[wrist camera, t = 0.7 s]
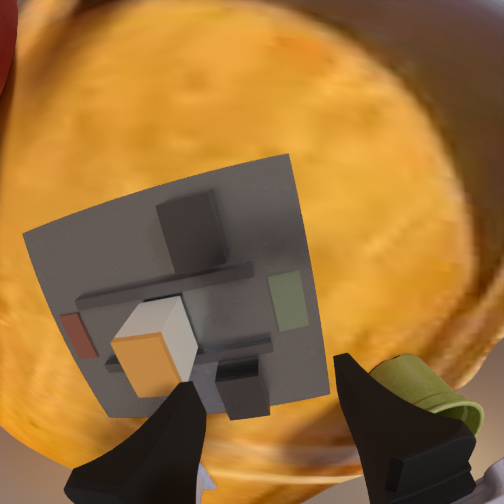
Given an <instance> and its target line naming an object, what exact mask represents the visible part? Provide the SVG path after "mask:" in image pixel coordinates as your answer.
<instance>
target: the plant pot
mask: <svg viewBox="0 0 504 504" xmlns="http://www.w3.org/2000/svg"><path fill="white" fill-rule="evenodd" d="M370 375H371V376H372V377H373V378H374V379H375V380H377V381H378V382H379V383H380V384H382V385H383V386H384V387H386V388H387V389H388V390H390V391H391V392H393V393H394V394H396V395H397V396H399V397H401V398H402V399H404V400H406V401H408V402H409V403H411V404H413V405H416V406H418V407H420V408H422V409H425V410H427V411H430V412H433V413H436V414H439V415H442V416H446V417H450V418H454V419H459V420H462V421H463V422H464V423H465V424H466V425H467V426H468V428H469V429H470V430H471V432H472V433H473V435H474V436H475V437H476V436H477V434H478V433H479V431H480V429H481V427H482V424H483V420H484V412H483V409H482V407H481V406H480V405H479V404H478V403H477V402H475V401H472V400H467V399H466V398H464V397H463V396H461V395H459V394H456V393H455V392H454V391H453V390H452V389H451V388H450V387H449V386H448V385H447V384H446V383H445V382H444V381H443V380H442V379H441V378H440V377H439V376H438V375H437V374H436V373H435V372H434V371H433V370H432V369H430V368H429V367H428V366H427V365H426V364H425V363H424V362H423V361H422V360H421V359H420V358H419V357H417V356H415V355H410V354H403V355H400V356H399V357H397V358H394V359H391V360H386V361H384V362H382V363H381V364H379V365H378V366H377V367H376V368H375V369H374V370H373V371H372V372H371V373H370Z"/></svg>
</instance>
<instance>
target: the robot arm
mask: <svg viewBox="0 0 504 504" xmlns="http://www.w3.org/2000/svg"><path fill="white" fill-rule="evenodd" d="M333 359H334V367H335V376H336V386H337V392H338V396H339V400H340V404H341V408H342V411H343V413H344V416H345V419H346V421H347V424H348V426H349V429H350V431H351V434H352V436H353V439H354V442H355V444H356V447H357V450H358V453H359V456H360V460H361V464H362V468H363V472H364V477H365V481H366V486H367V489H368V495H369V500H370V504H504V457H503V458H502V459H500V460H498V461H497V462H495V463H494V464H492V465H491V466H490V467H489V468H488V469H487V470H486V472H485V473H484V476H483V477H482V478H480V479H478V480H476V481H474V480H473V477H472V475H471V473H470V471H471V466H470V464H469V462H468V460H469V458H470V456H471V454H472V452H473V450H474V447H475V444H476V438H475V436H474V435H473V433H472V432H471V430H470V429H469V428H468V426H467V425H466V424H465V423H464V422H463V421H462V420H459V419H454V418H450V417H446V416H442V415H439V414H436V413H433V412H430V411H427V410H425V409H422V408H420V407H418V406H416V405H413V404H411V403H409V402H408V401H406V400H404V399H402V398H401V397H399V396H397V395H396V394H394V393H393V392H391V391H390V390H388V389H387V388H386V387H384V386H383V385H382V384H380V383H379V382H378V381H377V380H375V379H374V378H373V377H372V376H371V375H370V374H368V373H367V372H366V371H365V370H364V369H363V368H362V367H361V366H360V365H359V364H358V363H357V362H356V361H355V360H354V359H353V358H352V356H351V355H350V354H348V353H344V354H340V355H336V356H333ZM206 413H207V412H206V410H205V408H204V405H203V403H202V401H201V399H200V397H199V395H198V392H197V390H196V388H195V386H194V384H193V381H187V382H180V383H179V384H178V385H177V386H176V387H175V388H174V390H173V391H172V392H171V393H170V395H169V396H168V397H167V398H166V400H165V401H164V402H163V403H162V404H161V406H160V407H159V408H158V409H157V410H156V411H155V413H154V414H153V415H152V416H151V417H150V418H149V419H148V420H147V421H146V422H145V423H144V424H143V425H142V426H141V427H140V428H139V429H138V430H137V431H136V432H135V433H133V434H132V435H131V436H130V437H129V438H128V439H126V440H125V441H124V442H122V443H121V444H119V445H118V446H117V447H115V448H114V449H112V450H111V451H109V452H108V453H106V454H104V455H102V456H101V457H99V458H97V459H95V460H93V461H91V462H89V463H86V464H84V465H82V466H79V467H77V468H74V469H73V471H72V473H71V475H70V477H69V479H68V481H67V483H66V485H65V487H64V492H65V494H66V495H67V497H68V498H69V499H70V500H71V501H72V502H73V503H74V504H201V501H202V494H203V490H214V489H216V485H215V483H214V482H213V480H212V479H211V477H210V476H209V474H208V473H207V471H206V470H205V468H204V467H203V465H202V464H201V462H200V458H201V453H202V448H203V443H204V437H205V432H206Z"/></svg>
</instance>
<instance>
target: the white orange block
mask: <svg viewBox="0 0 504 504" xmlns="http://www.w3.org/2000/svg"><path fill="white" fill-rule="evenodd" d="M110 344H111V346H112V348H113V350H114V352H115V354H116V356H117V358H118V360H119V362H120V364H121V366H122V368H123V370H124V372H125V374H126V375H127V377H128V379H129V381H130V383H131V385H132V387H133V388H134V390H135V392H136V394H137V396H138V397H139V398H143V397H161V396H169V395H170V393H171V392H172V391H173V390H174V388H175V387H176V386H177V385H178V384H179V383H180V382H187V381H188V380H189V377H190V373H191V370H192V366H193V363H194V359H195V356H196V352H197V349H198V345H197V343H196V340H195V337H194V334H193V332H192V329H191V326H190V323H189V321H188V318H187V315H186V312H185V309H184V307H183V304H182V301H181V298H180V296H176V297H171V298H166V299H160V300H155V301H149V302H144V303H139V304H138V306H137V307H136V308H135V310H134V311H133V312H132V314H131V315H130V317H129V318H128V319H127V321H126V322H125V323H124V325H123V326H122V327H121V329H120V330H119V332H118V333H117V334H116V336H115V337H114V338H113V340H112V341H111V343H110Z"/></svg>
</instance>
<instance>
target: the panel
mask: <svg viewBox="0 0 504 504" xmlns="http://www.w3.org/2000/svg"><path fill="white" fill-rule="evenodd" d="M23 237H24V240H25V244H26V247H27V250H28V253H29V256H30V259H31V262H32V265H33V267H34V270H35V273H36V276H37V278H38V281H39V283H40V286H41V288H42V291H43V293H44V296H45V298H46V301H47V303H48V305H49V308H50V310H51V312H52V315H53V317H54V319H55V321H56V323H57V326H58V328H59V330H60V332H61V334H62V336H63V338H64V340H65V342H66V344H67V346H68V348H69V350H70V352H71V354H72V356H73V358H74V360H75V361H76V363H77V365H78V367H79V369H80V370H81V372H82V374H83V376H84V378H85V379H86V381H87V383H88V384H89V386H90V388H91V389H92V391H93V393H94V394H95V396H96V398H97V399H98V401H99V402H100V404H101V406H102V407H103V409H104V410H105V412H106V413H107V415H108V416H109V417H122V418H139V417H151V416H152V415H153V414H154V413H155V411H156V410H157V409H158V408H159V407H160V406H161V404H162V403H163V402H164V401H165V400H166V398H167V397H168V396H161V397H143V398H139V397H138V396H137V394H136V392H135V390H134V388H133V387H132V385H131V383H130V381H129V379H128V377H127V375H126V374H125V372H124V370H123V368H122V366H121V364H120V362H119V360H118V358H117V356H116V354H115V352H114V350H113V348H112V346H111V344H110V343H111V341H112V340H113V338H114V337H115V336H116V334H117V333H118V332H119V330H120V329H121V327H122V326H123V325H124V323H125V322H126V321H127V319H128V318H129V317H130V315H131V314H132V312H133V311H134V310H135V308H136V307H137V306H138V304H139V303H144V302H149V301H155V300H160V299H166V298H171V297H176V296H180V298H181V301H182V304H183V307H184V309H185V312H186V315H187V318H188V321H189V323H190V326H191V329H192V332H193V334H194V337H195V340H196V343H197V345H198V349H197V352H196V356H195V359H194V363H193V366H192V370H191V373H190V377H189V380H188V381H193V384H194V386H195V388H196V390H197V392H198V395H199V397H200V399H201V401H202V403H203V405H204V408H205V410H206V412H207V413H206V414H213V413H222V412H227V414H228V416H229V418H230V420H239V419H247V418H254V417H261V416H268V415H270V406H273V405H279V404H285V403H290V402H295V401H300V400H305V399H310V398H315V397H319V396H324V395H328V394H330V387H329V379H328V371H327V364H326V356H325V349H324V342H323V335H322V328H321V322H320V315H319V309H318V303H317V296H316V290H315V284H314V278H313V273H312V267H311V261H310V256H309V250H308V245H307V240H306V234H305V229H304V224H303V219H302V214H301V209H300V204H299V199H298V194H297V189H296V185H295V180H294V175H293V171H292V166H291V162H290V157H289V154H283V155H279V156H274V157H269V158H265V159H260V160H256V161H251V162H247V163H242V164H238V165H234V166H230V167H226V168H222V169H218V170H214V171H210V172H206V173H202V174H198V175H195V176H191V177H187V178H184V179H180V180H176V181H173V182H169V183H166V184H162V185H159V186H156V187H152V188H149V189H146V190H142V191H139V192H136V193H133V194H130V195H127V196H123V197H120V198H117V199H114V200H111V201H108V202H105V203H102V204H99V205H97V206H94V207H91V208H88V209H85V210H82V211H80V212H77V213H74V214H71V215H69V216H66V217H63V218H61V219H58V220H55V221H53V222H50V223H48V224H45V225H43V226H40V227H38V228H35V229H33V230H30V231H28V232H25V233H23Z"/></svg>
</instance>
